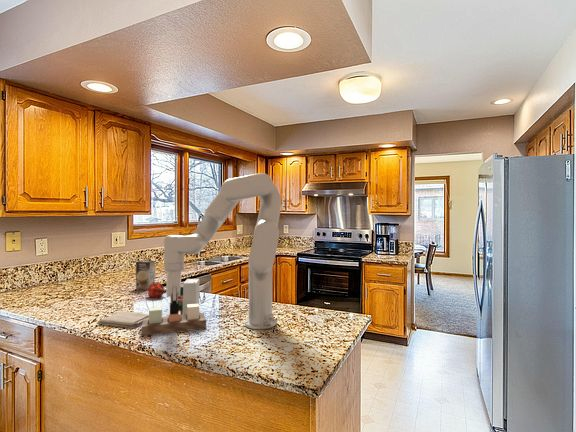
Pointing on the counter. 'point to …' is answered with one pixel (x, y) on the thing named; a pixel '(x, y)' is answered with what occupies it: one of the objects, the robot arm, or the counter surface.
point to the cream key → (192, 311)
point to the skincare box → (190, 293)
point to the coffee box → (145, 274)
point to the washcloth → (124, 319)
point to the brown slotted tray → (173, 325)
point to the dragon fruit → (156, 290)
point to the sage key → (155, 315)
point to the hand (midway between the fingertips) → (174, 313)
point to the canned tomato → (181, 299)
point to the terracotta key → (174, 317)
